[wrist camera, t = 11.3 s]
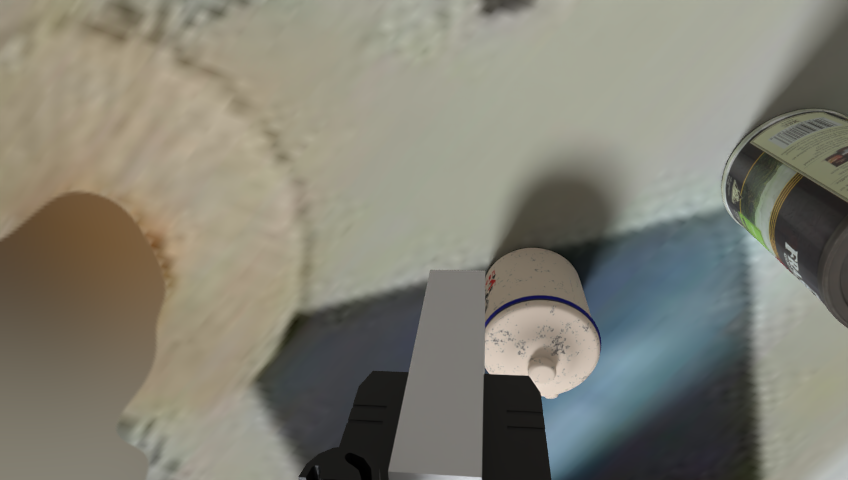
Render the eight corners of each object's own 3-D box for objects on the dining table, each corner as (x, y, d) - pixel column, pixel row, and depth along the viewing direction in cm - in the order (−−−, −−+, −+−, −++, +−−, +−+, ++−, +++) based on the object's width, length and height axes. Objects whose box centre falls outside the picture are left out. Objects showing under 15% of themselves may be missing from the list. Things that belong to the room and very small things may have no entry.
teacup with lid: (470, 254, 46) (464, 333, 35) (574, 233, 44) (600, 311, 33) (498, 359, 50) (500, 456, 40) (594, 345, 48) (622, 444, 38)
